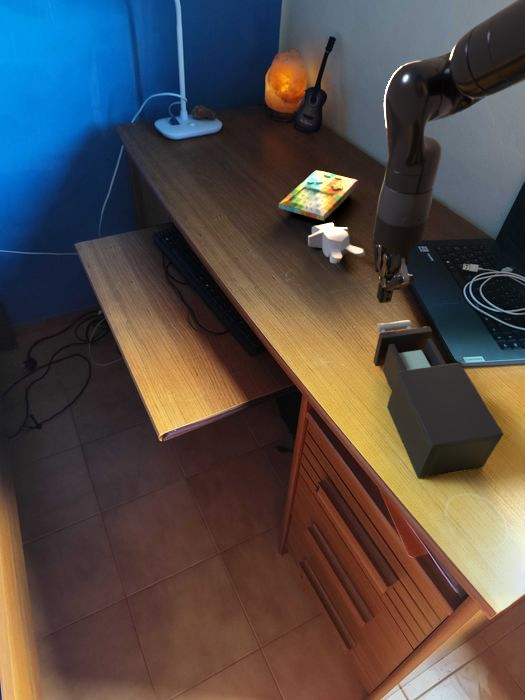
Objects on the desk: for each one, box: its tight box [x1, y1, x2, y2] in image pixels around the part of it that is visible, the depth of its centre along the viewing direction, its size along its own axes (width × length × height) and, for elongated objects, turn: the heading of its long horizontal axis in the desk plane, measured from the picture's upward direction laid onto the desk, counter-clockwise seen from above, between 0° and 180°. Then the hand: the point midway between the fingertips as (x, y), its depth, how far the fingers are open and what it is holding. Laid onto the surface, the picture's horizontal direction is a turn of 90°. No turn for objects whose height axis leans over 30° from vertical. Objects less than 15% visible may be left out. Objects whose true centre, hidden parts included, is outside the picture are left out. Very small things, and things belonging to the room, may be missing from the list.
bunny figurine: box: [307, 222, 366, 264], centre depth 101 cm, size 10×5×15 cm
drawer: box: [372, 319, 447, 391], centre depth 74 cm, size 16×8×7 cm, turn 9°
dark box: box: [386, 362, 504, 479], centre depth 66 cm, size 13×10×9 cm
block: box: [399, 350, 431, 370], centre depth 73 cm, size 4×4×4 cm
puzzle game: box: [278, 169, 359, 222], centre depth 115 cm, size 12×5×20 cm
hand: (383, 299), depth 82 cm, fingers closed
